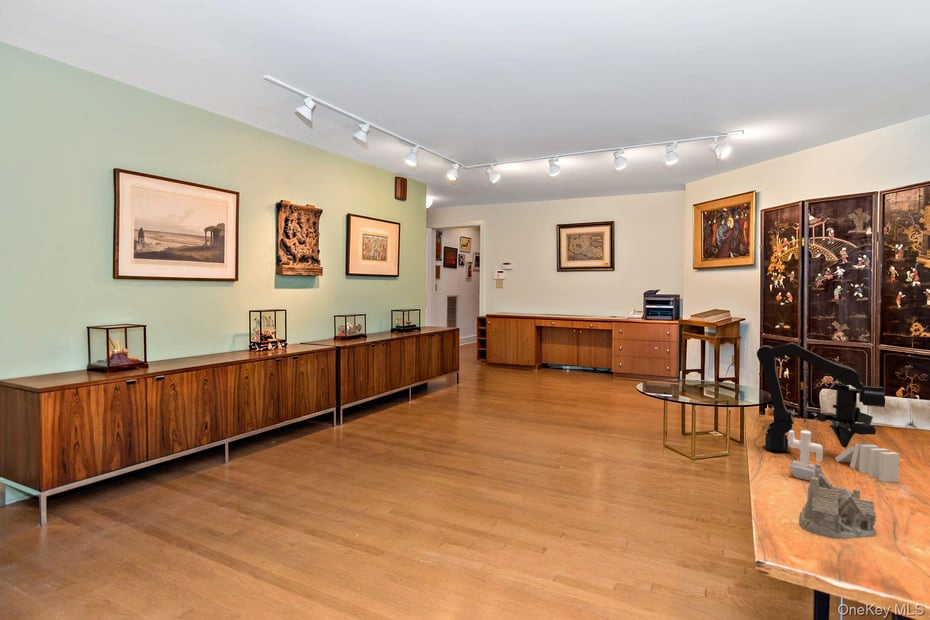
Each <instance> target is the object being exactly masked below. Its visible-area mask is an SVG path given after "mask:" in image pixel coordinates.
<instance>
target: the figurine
mask: <svg viewBox="0 0 930 620" xmlns="http://www.w3.org/2000/svg"><path fill="white" fill-rule="evenodd" d="M799 433H800V435H799V436H800V440H799V439H796V436H795V430H792V429H791V430H790V431H789V432H788V433H787V439H788V446H789V447H790V448H792V449H797V450H799V451H800V452H799V453H800V454H799V461H798V460H793V461H792V462H791V463H790V464H788V468H789V470H790V472H791V473H792V477H794V478H797V479H801V480H805V481H809V482H810V481H811V477H815V476H816V475H815V464H811V463H810V456H811V455H810V454H811V453H815V455H816V457H815V460H816V462H818V463H822V462H823V459H824V446H823V445H821V444H820V443H814V442H811V438H812V432H811V431H810V430H806V429H803V430H801V431H800V432H799Z"/></svg>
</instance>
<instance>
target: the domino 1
mask: <svg viewBox="0 0 930 620" xmlns="http://www.w3.org/2000/svg"><path fill="white" fill-rule="evenodd" d="M854 448H855V445H850V446H849V447H848V448H845V450H844V451H842V452H841V453H839V455H838V454H837V456H836V457H834V459H835V461H836V462H837V463H851V460H852V456H853V452H854Z"/></svg>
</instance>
